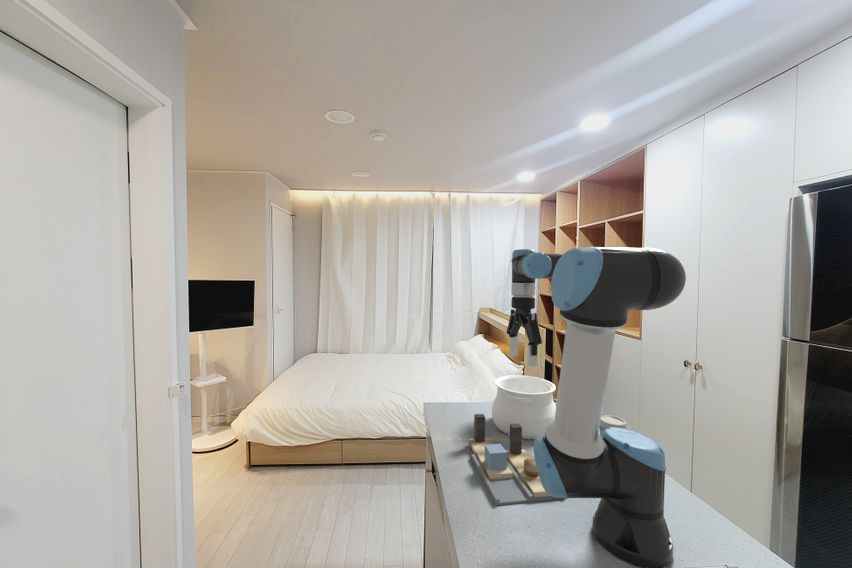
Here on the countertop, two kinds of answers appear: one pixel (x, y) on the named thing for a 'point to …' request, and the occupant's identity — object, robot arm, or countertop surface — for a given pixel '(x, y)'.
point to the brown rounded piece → (530, 467)
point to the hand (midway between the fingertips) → (522, 360)
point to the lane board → (508, 487)
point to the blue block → (495, 457)
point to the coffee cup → (611, 423)
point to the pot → (524, 404)
